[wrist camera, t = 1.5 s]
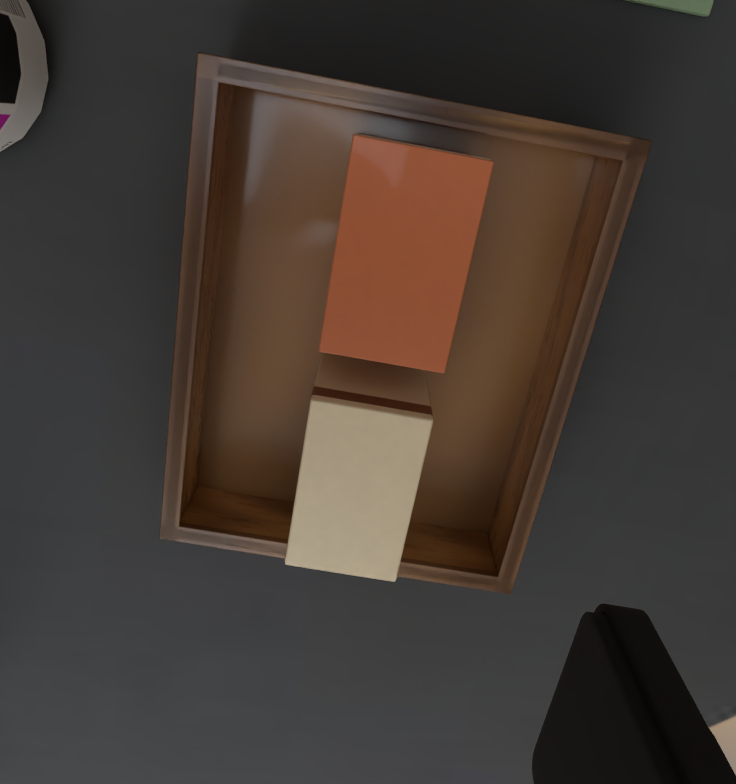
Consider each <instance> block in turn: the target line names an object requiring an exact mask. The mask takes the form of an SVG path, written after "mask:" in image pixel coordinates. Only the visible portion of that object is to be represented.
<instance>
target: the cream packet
mask: <svg viewBox="0 0 736 784" xmlns="http://www.w3.org/2000/svg"><path fill="white" fill-rule="evenodd" d="M432 425H433V413H432V407H431V406H430V401H429V396H428V391H427V385H426V380H425V375H424V370H421V369H416V368H410V367H404V366H398V365H393V364H387V363H381V362H376V361H370V360H364V359H358V358H353V357H347V356H341V355H335V354H330V353H324V352H322V357H321V361H320V365H319V369H318V373H317V377H316V381H315V385H314V387H313V390H312V394H311V400H310V406H309V413H308V419H307V425H306V431H305V438H304V444H303V450H302V456H301V463H300V469H299V475H298V481H297V488H296V494H295V500H294V506H293V513H292V519H291V525H290V531H289V538H288V544H287V550H286V556H285V564H286V565H291V566H297V567H304V568H310V569H316V570H323V571H329V572H335V573H342V574H348V575H354V576H361V577H367V578H373V579H380V580H386V581H392V582H395V581H396V579H397V574H398V570H399V566H400V562H401V557H402V553H403V549H404V544H405V540H406V536H407V532H408V527H409V523H410V519H411V515H412V510H413V506H414V502H415V497H416V493H417V489H418V485H419V480H420V476H421V472H422V468H423V463H424V459H425V455H426V451H427V446H428V442H429V438H430V433H431V429H432Z"/></svg>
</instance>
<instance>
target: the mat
mask: <svg viewBox="0 0 736 784" xmlns="http://www.w3.org/2000/svg"><path fill="white" fill-rule="evenodd" d="M625 1H629V2H634V3H639V4H644V5H649V6H654V7H659V8H663V9H668V10H673V11H678V12H683V13H688V14H693V15H697V16H702V17H706V16H709V14H710V11H711V8H712V5H713V1H714V0H625Z"/></svg>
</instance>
